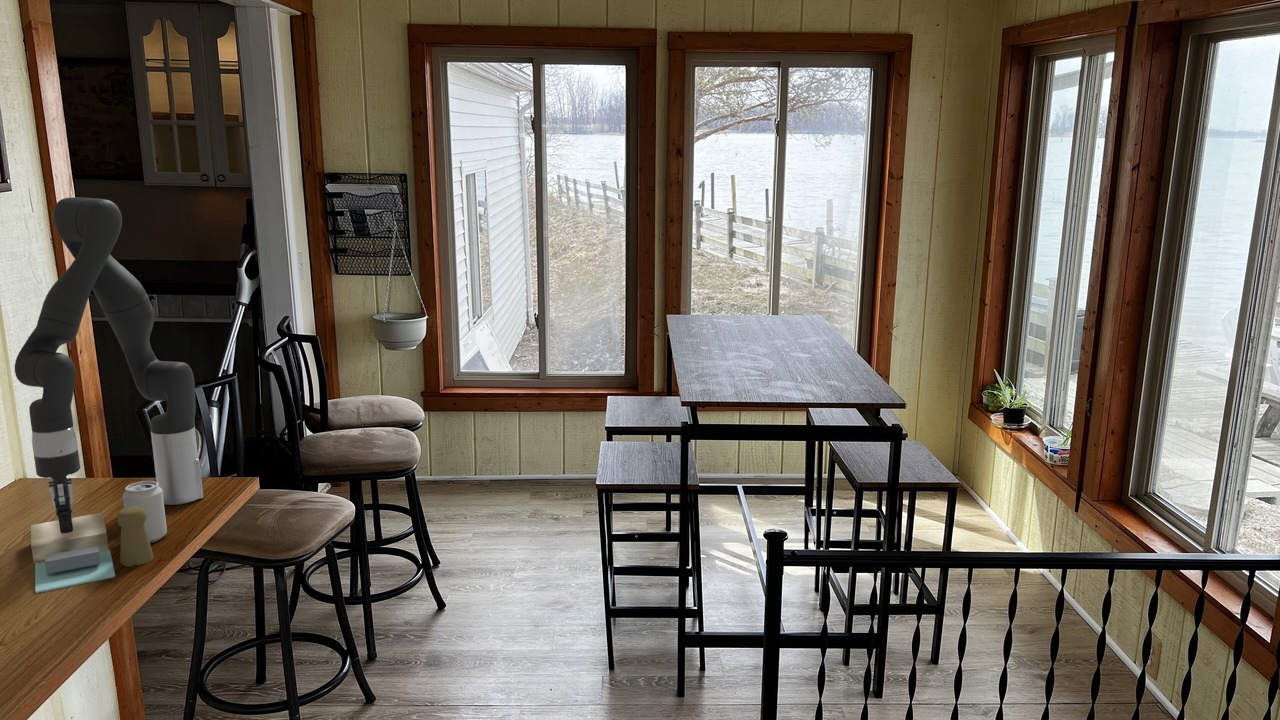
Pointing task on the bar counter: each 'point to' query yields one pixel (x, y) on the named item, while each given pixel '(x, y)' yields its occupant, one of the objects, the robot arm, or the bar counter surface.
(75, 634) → the bar counter surface
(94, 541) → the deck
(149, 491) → the can
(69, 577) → the mat
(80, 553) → the grey rectangular block
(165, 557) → the bar counter surface
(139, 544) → the cork
